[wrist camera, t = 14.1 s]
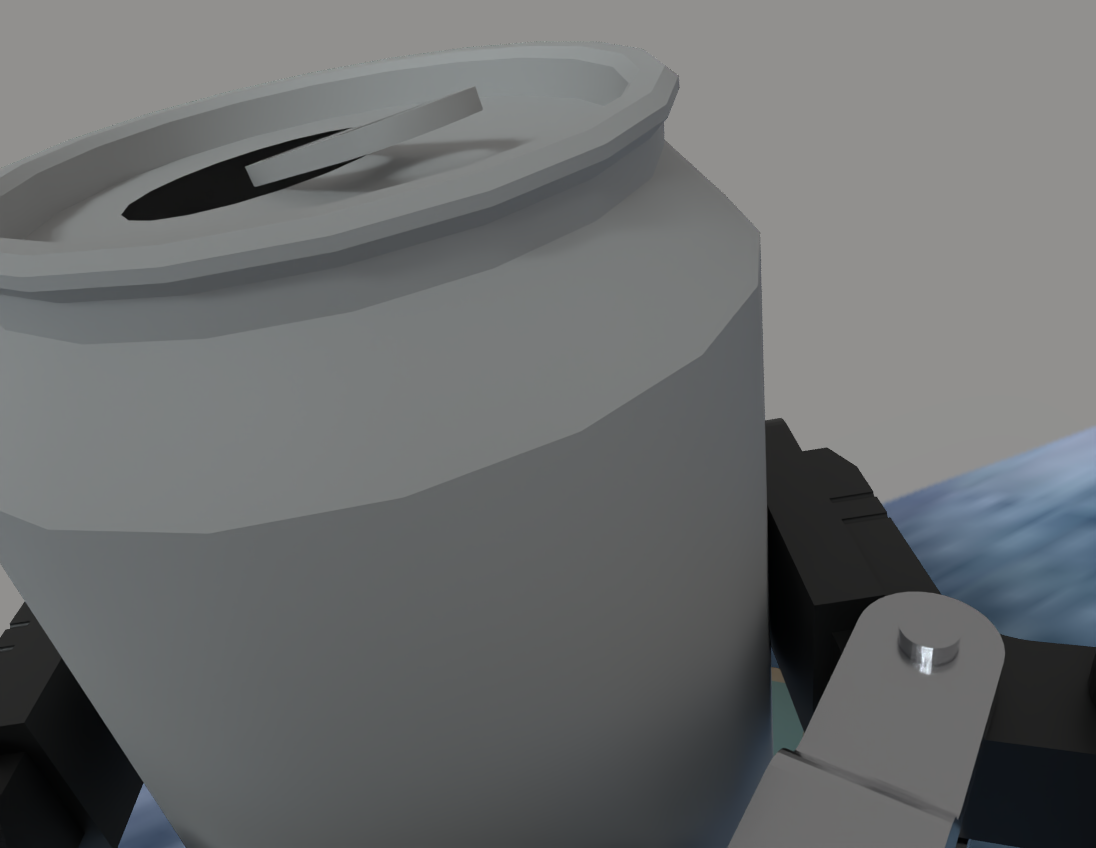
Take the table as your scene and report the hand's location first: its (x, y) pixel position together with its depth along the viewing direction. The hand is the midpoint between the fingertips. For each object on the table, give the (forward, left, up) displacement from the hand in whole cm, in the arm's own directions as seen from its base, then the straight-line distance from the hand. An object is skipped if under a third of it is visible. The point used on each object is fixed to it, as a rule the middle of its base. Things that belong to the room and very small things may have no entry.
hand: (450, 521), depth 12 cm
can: (-2, -1, -6) cm, 6 cm away
